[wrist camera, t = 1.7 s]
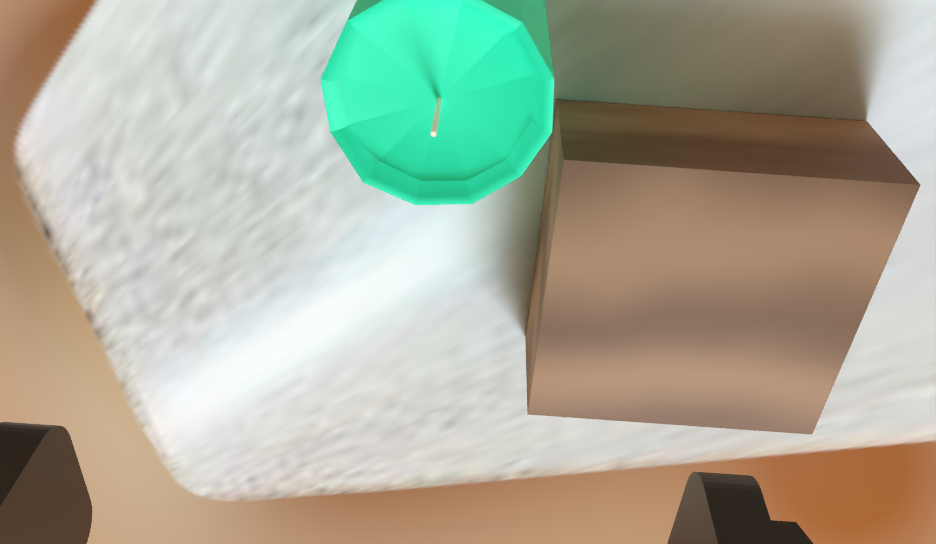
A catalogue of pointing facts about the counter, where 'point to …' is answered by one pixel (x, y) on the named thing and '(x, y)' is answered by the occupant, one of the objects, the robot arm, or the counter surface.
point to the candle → (441, 95)
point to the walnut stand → (705, 263)
